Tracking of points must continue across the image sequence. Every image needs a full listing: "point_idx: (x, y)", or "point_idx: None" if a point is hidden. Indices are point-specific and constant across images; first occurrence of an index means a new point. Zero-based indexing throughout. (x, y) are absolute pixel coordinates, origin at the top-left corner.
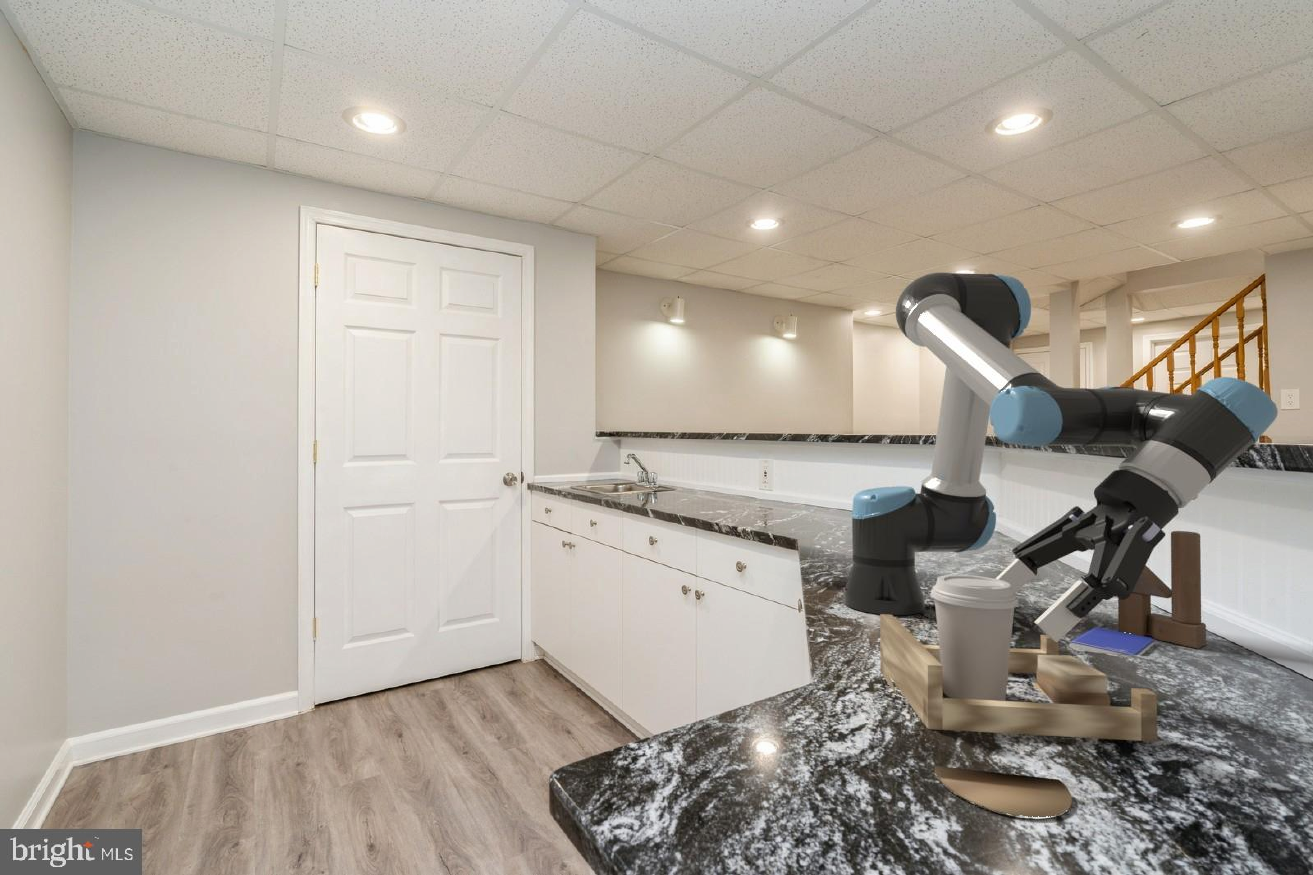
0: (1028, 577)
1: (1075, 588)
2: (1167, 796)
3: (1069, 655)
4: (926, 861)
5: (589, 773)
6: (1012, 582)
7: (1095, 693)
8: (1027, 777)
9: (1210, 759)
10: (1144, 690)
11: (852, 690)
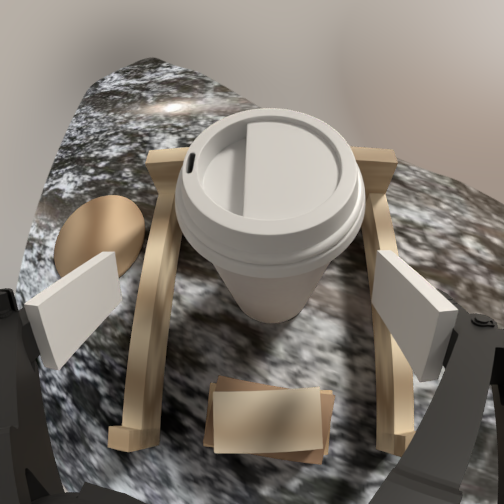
0: (413, 361)
1: (39, 293)
2: (67, 375)
3: (322, 446)
4: (49, 175)
5: (156, 59)
6: (401, 314)
7: None
8: None
9: (135, 489)
10: (121, 443)
11: None
